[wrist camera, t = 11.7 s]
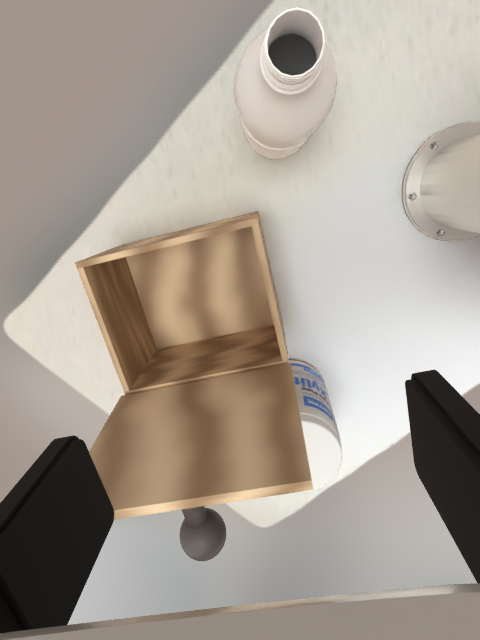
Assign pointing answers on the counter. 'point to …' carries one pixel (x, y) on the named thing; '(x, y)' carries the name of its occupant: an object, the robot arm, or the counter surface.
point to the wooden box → (187, 305)
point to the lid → (204, 450)
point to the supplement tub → (317, 425)
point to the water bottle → (285, 84)
